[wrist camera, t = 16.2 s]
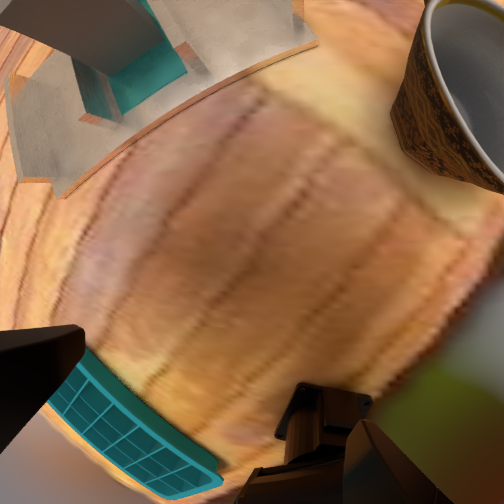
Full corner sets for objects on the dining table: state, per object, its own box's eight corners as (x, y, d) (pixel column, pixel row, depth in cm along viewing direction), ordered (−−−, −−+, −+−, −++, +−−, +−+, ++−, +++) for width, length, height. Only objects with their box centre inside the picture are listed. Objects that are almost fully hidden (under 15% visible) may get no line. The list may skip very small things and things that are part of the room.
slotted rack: (317, 45, 16) (321, 5, 11) (64, 198, 21) (22, 201, 16) (228, -52, 14) (216, -85, 9) (35, 80, 19) (2, 70, 14)
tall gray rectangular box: (165, 40, 16) (66, -51, 4) (111, 77, 17) (-7, 22, 5) (151, 15, 16) (64, -67, 4) (101, 50, 17) (-2, -5, 5)
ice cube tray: (80, 328, 23) (60, 341, 20) (235, 461, 23) (229, 482, 21) (52, 379, 26) (37, 391, 23) (176, 485, 26) (168, 501, 23)
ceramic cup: (497, 185, 15) (591, 187, 5) (390, 211, 17) (476, 226, 7) (442, 31, 13) (497, -32, 4) (331, 36, 15) (346, -61, 6)
